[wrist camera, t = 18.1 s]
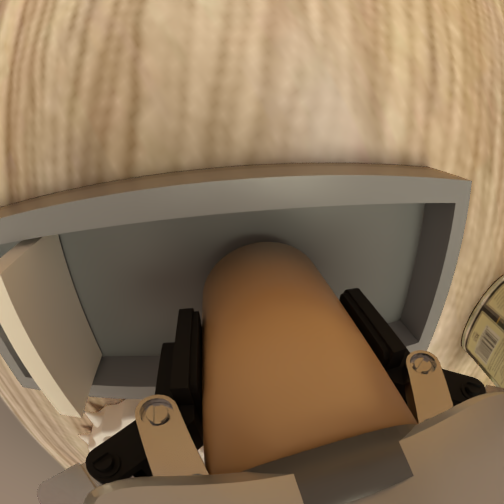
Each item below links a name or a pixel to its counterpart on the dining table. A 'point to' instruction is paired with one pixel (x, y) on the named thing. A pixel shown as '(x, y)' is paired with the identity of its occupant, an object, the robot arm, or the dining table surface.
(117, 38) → the dining table surface
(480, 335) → the coffee can
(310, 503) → the jar
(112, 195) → the grey rectangular tray
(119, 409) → the knuckle duster
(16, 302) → the plate
